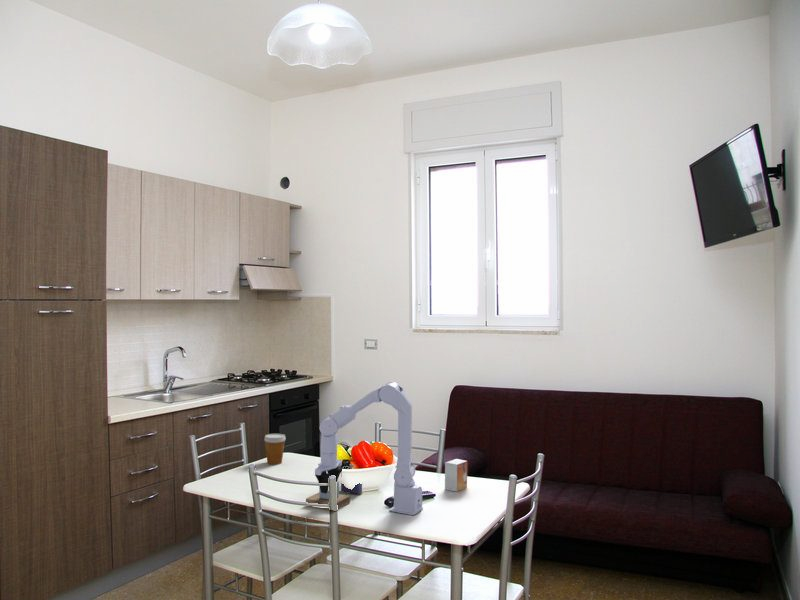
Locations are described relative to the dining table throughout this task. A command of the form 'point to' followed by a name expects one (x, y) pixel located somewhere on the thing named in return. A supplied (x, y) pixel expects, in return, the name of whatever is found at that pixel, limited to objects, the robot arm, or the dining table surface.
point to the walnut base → (341, 500)
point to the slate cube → (326, 495)
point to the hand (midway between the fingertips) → (328, 490)
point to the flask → (356, 489)
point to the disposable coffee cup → (274, 448)
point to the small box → (456, 475)
